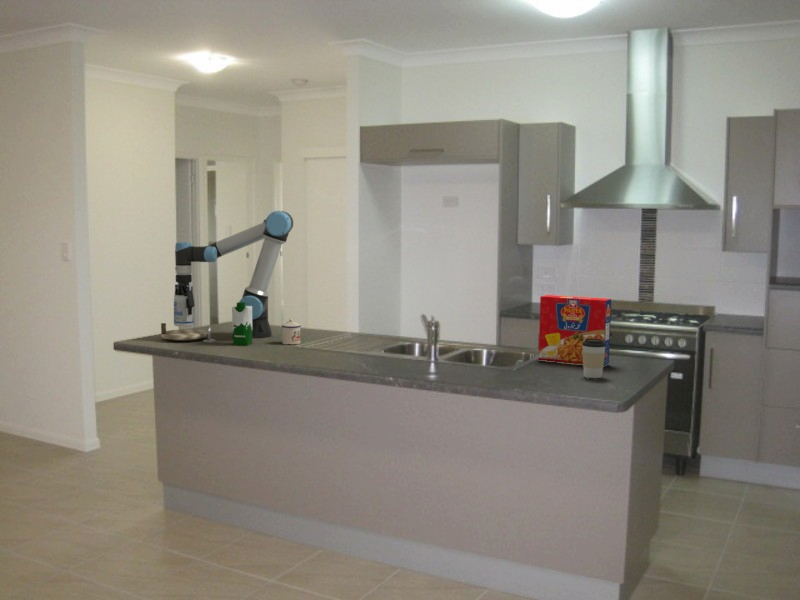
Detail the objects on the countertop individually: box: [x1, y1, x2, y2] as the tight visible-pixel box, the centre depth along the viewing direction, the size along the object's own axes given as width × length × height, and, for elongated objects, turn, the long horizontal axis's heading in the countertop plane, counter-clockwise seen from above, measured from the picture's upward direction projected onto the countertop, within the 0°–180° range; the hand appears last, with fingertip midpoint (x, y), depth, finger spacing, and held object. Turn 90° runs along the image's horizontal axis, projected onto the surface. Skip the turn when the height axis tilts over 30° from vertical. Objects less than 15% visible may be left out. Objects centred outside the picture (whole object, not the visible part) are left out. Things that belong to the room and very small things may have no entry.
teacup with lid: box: [281, 318, 302, 345], centre depth 389 cm, size 12×9×12 cm
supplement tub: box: [173, 294, 195, 328], centre depth 395 cm, size 10×10×15 cm
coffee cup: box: [582, 339, 606, 378], centre depth 315 cm, size 9×9×15 cm
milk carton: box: [231, 301, 253, 347], centre depth 384 cm, size 9×9×20 cm
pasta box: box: [538, 294, 612, 366], centre depth 344 cm, size 28×8×28 cm, turn 60°
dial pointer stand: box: [202, 326, 216, 343], centre depth 391 cm, size 5×4×7 cm
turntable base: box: [169, 339, 200, 343], centre depth 397 cm, size 14×14×2 cm
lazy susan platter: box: [160, 322, 207, 340], centre depth 396 cm, size 22×22×7 cm
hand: (184, 320), depth 396 cm, fingers closed on supplement tub, 10 cm apart
